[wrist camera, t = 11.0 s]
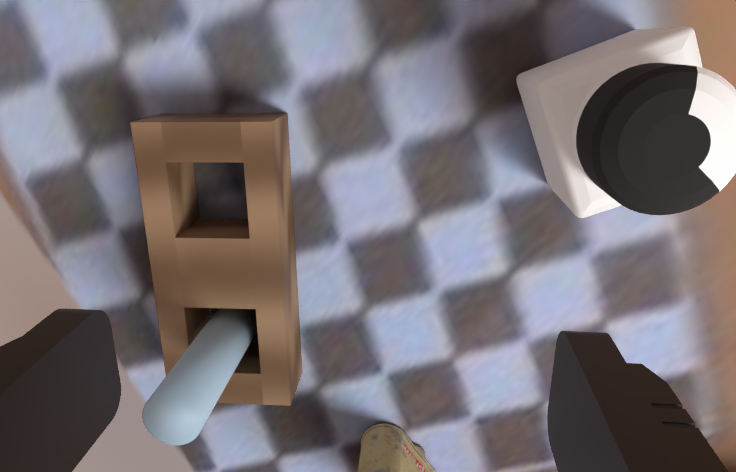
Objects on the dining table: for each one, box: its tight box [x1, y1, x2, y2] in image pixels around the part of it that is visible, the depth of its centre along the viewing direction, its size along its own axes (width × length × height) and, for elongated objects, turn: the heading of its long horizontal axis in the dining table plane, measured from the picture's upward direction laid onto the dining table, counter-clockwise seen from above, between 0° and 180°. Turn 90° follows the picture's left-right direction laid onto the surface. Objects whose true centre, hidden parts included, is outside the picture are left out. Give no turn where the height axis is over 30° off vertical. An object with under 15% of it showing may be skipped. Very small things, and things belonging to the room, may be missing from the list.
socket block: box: [130, 113, 302, 406], centre depth 37 cm, size 18×8×4 cm, turn 1°
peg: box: [142, 308, 257, 445], centre depth 35 cm, size 3×3×12 cm
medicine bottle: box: [516, 26, 736, 218], centre depth 28 cm, size 7×7×12 cm
